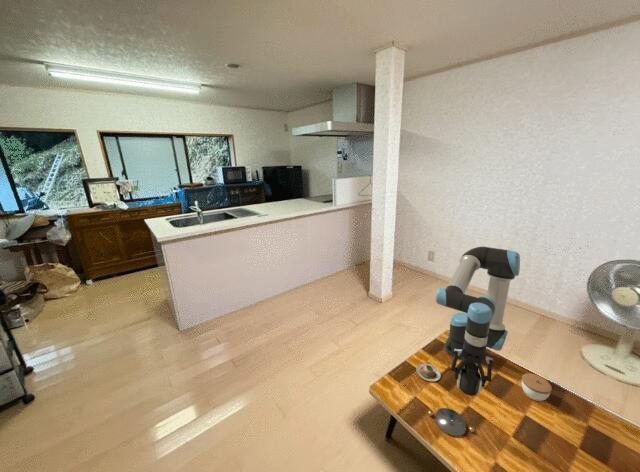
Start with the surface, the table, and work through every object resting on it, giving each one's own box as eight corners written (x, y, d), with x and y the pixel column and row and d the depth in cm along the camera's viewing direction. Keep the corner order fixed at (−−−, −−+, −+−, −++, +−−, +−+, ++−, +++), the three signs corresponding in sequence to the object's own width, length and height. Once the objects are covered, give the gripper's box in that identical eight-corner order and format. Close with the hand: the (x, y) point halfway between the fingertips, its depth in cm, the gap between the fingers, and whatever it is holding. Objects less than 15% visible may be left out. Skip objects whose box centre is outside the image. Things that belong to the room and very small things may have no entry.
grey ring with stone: (412, 373, 138) (412, 366, 136) (422, 361, 145) (423, 355, 144) (434, 387, 129) (435, 379, 128) (444, 373, 137) (445, 366, 136)
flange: (429, 403, 120) (429, 400, 120) (473, 419, 112) (474, 417, 112) (426, 425, 110) (426, 422, 110) (474, 445, 102) (475, 442, 102)
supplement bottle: (480, 397, 103) (484, 373, 100) (462, 395, 104) (465, 371, 101) (473, 383, 110) (477, 360, 107) (456, 381, 111) (459, 358, 108)
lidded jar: (525, 402, 119) (528, 386, 116) (515, 383, 129) (518, 368, 126) (553, 408, 116) (557, 391, 113) (541, 388, 125) (545, 372, 123)
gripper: (447, 340, 102) (441, 386, 108) (507, 355, 93) (497, 404, 99) (447, 329, 108) (442, 374, 115) (504, 342, 100) (495, 390, 106)
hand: (468, 388), depth 107 cm, fingers closed on supplement bottle, 7 cm apart
